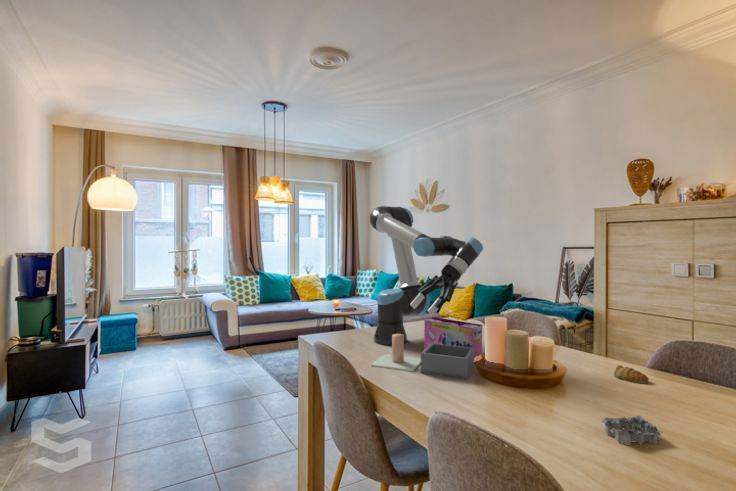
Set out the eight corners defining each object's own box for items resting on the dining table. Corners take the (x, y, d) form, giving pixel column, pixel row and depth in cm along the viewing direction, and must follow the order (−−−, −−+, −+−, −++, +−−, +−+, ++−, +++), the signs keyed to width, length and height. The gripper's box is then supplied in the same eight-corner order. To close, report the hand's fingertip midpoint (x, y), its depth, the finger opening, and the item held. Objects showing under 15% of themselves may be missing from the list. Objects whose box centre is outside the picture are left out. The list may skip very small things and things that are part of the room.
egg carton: (620, 447, 89) (620, 429, 88) (599, 430, 96) (599, 414, 96) (665, 445, 89) (665, 427, 89) (641, 429, 97) (641, 412, 96)
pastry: (652, 382, 128) (652, 370, 128) (643, 386, 124) (643, 374, 124) (620, 373, 136) (620, 363, 136) (611, 378, 132) (611, 366, 132)
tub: (431, 361, 149) (431, 343, 149) (474, 367, 143) (474, 347, 143) (420, 373, 137) (420, 353, 136) (467, 379, 130) (467, 358, 130)
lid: (384, 356, 157) (384, 329, 157) (423, 361, 151) (423, 332, 151) (371, 367, 144) (371, 337, 144) (413, 372, 138) (412, 341, 138)
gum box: (420, 351, 163) (420, 319, 163) (431, 347, 169) (431, 316, 168) (472, 364, 146) (472, 328, 146) (482, 359, 152) (483, 324, 152)
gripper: (479, 280, 145) (444, 323, 140) (442, 273, 169) (411, 310, 163) (467, 266, 143) (431, 309, 138) (432, 261, 166) (400, 298, 161)
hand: (420, 310), depth 151 cm, fingers open, 13 cm apart
